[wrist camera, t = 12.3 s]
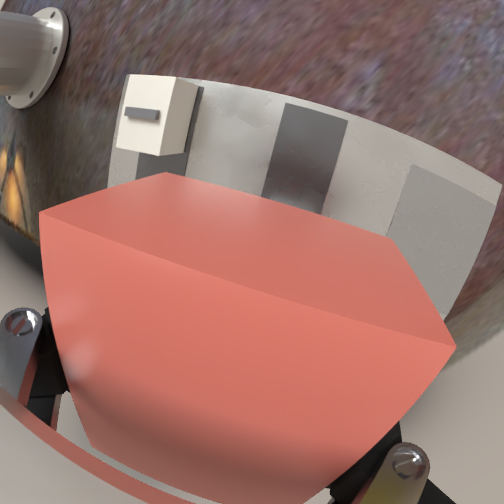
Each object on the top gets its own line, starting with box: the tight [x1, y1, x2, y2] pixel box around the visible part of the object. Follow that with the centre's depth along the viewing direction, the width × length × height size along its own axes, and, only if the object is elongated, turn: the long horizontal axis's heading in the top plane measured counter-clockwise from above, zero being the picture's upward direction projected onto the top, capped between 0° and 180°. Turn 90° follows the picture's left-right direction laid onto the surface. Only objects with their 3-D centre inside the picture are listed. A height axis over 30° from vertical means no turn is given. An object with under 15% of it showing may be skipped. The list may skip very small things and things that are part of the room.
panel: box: [107, 75, 502, 320], centre depth 20 cm, size 30×13×2 cm, turn 76°
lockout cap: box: [39, 172, 456, 504], centre depth 8 cm, size 7×9×5 cm
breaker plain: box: [116, 75, 199, 156], centre depth 17 cm, size 4×5×4 cm
